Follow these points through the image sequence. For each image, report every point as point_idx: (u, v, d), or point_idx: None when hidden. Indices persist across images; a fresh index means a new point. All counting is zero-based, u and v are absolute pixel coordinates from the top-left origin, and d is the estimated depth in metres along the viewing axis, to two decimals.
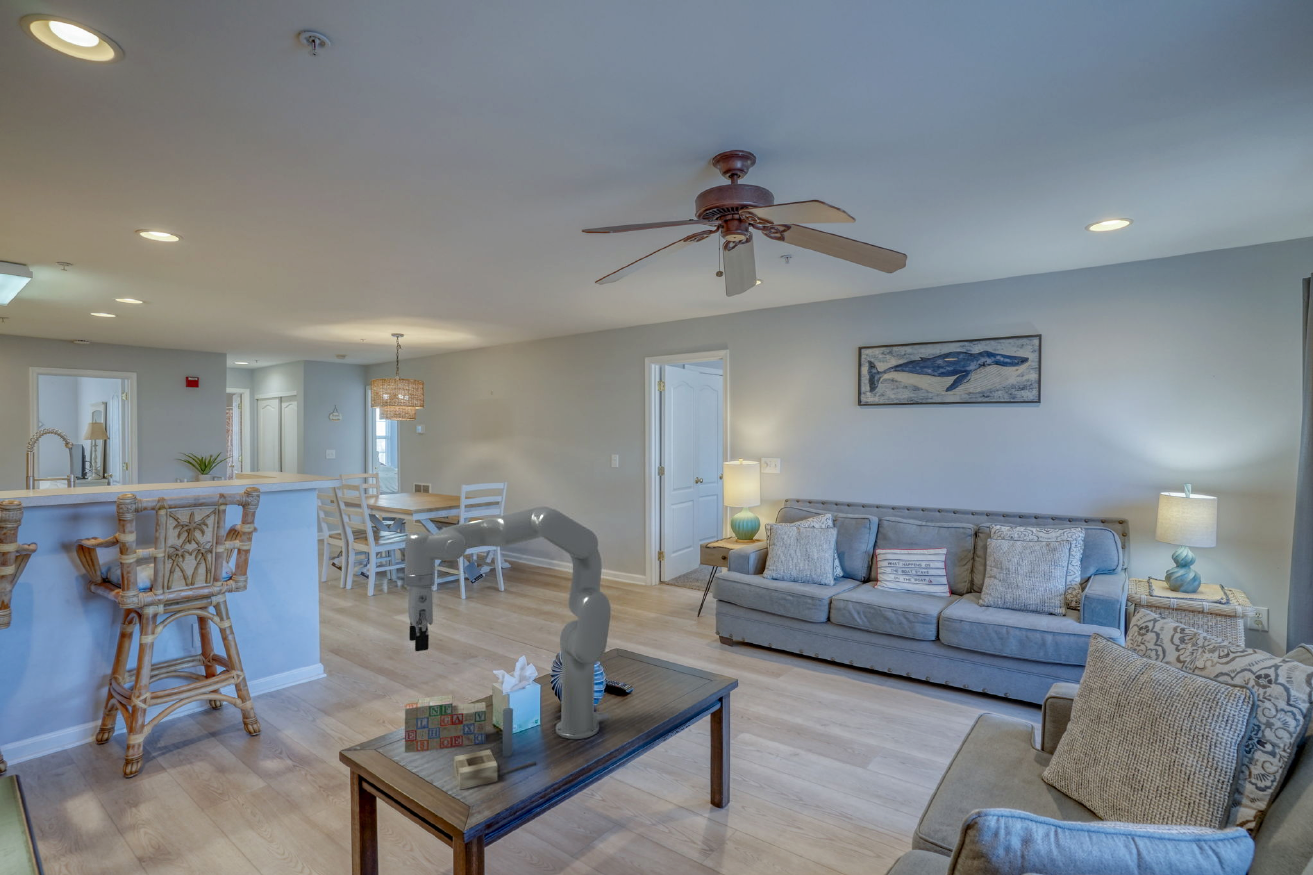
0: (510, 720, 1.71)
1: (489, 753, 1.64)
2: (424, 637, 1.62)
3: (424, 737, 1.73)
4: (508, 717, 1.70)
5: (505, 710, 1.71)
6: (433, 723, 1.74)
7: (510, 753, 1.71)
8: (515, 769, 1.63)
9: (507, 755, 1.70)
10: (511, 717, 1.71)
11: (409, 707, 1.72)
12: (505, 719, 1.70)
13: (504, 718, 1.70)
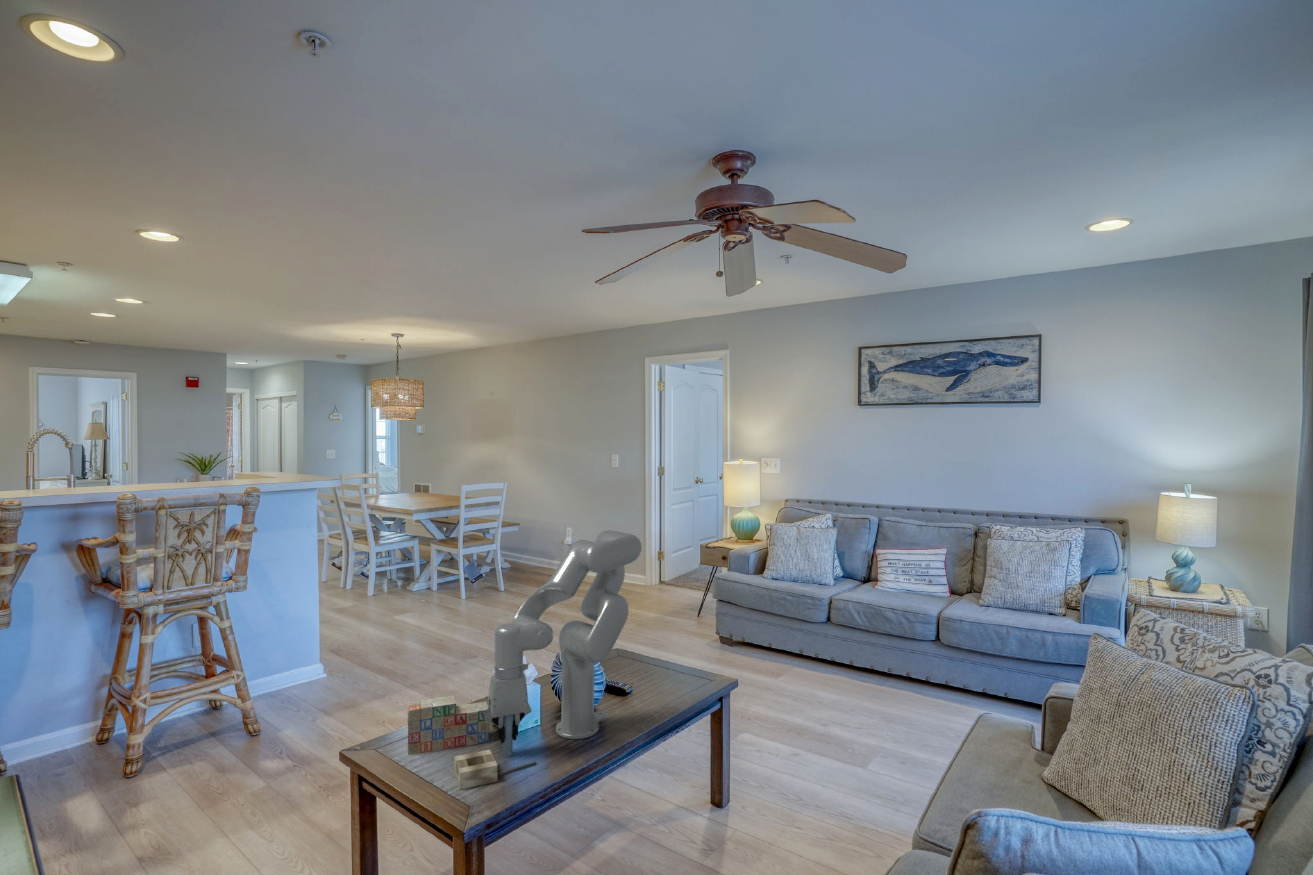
0: (510, 720, 1.71)
1: (489, 753, 1.64)
2: None
3: (428, 739, 1.72)
4: (508, 717, 1.70)
5: None
6: (436, 724, 1.73)
7: (510, 753, 1.71)
8: (515, 769, 1.63)
9: (507, 755, 1.70)
10: (511, 717, 1.71)
11: (413, 709, 1.71)
12: (505, 719, 1.70)
13: (504, 718, 1.70)
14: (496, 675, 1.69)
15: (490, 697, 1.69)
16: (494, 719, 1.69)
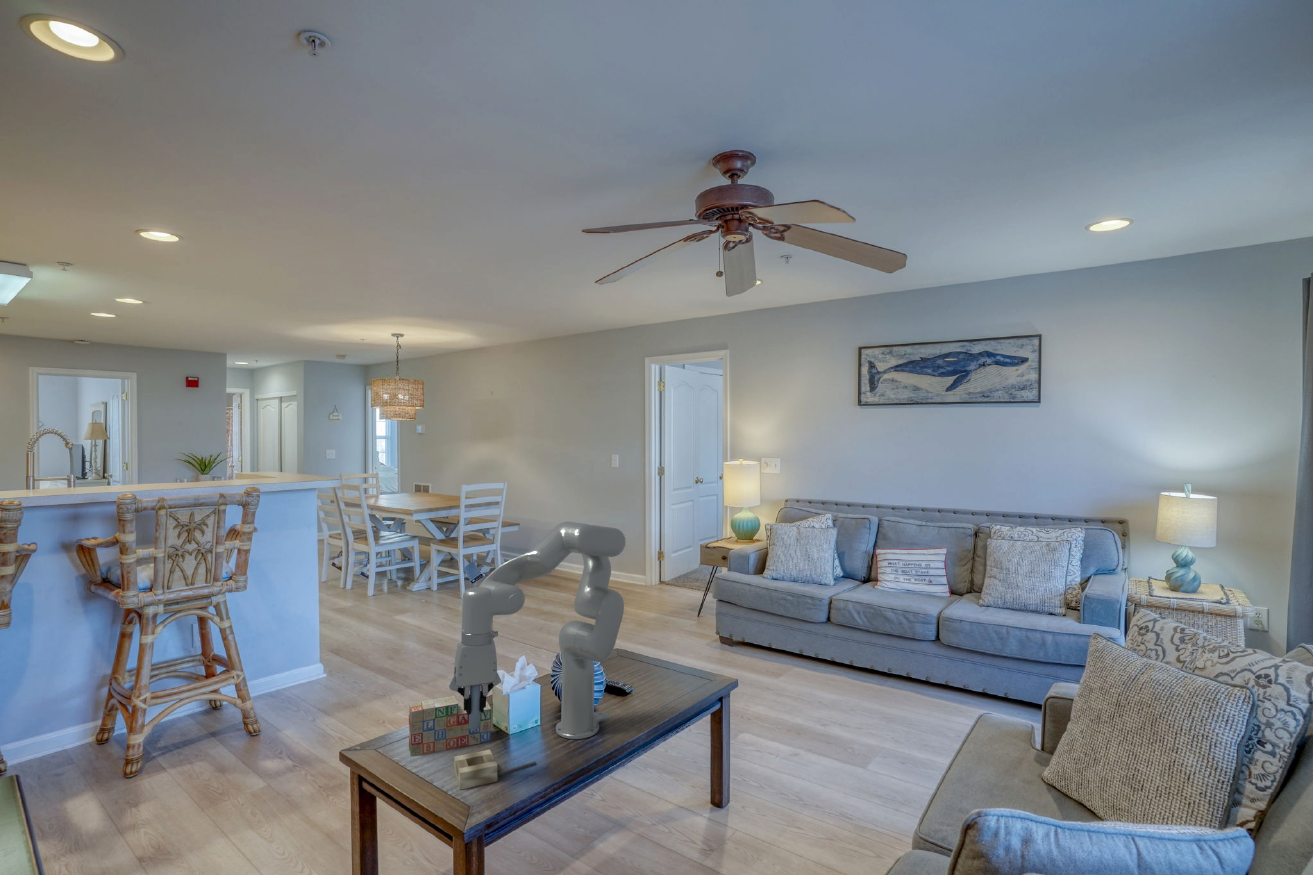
0: (477, 690, 1.59)
1: (489, 753, 1.64)
2: None
3: (431, 739, 1.72)
4: (475, 687, 1.59)
5: None
6: (439, 725, 1.73)
7: (477, 726, 1.59)
8: (515, 769, 1.63)
9: (473, 728, 1.58)
10: (479, 687, 1.59)
11: (415, 710, 1.71)
12: (472, 689, 1.58)
13: (471, 688, 1.59)
14: (463, 641, 1.57)
15: (456, 665, 1.57)
16: (460, 689, 1.57)
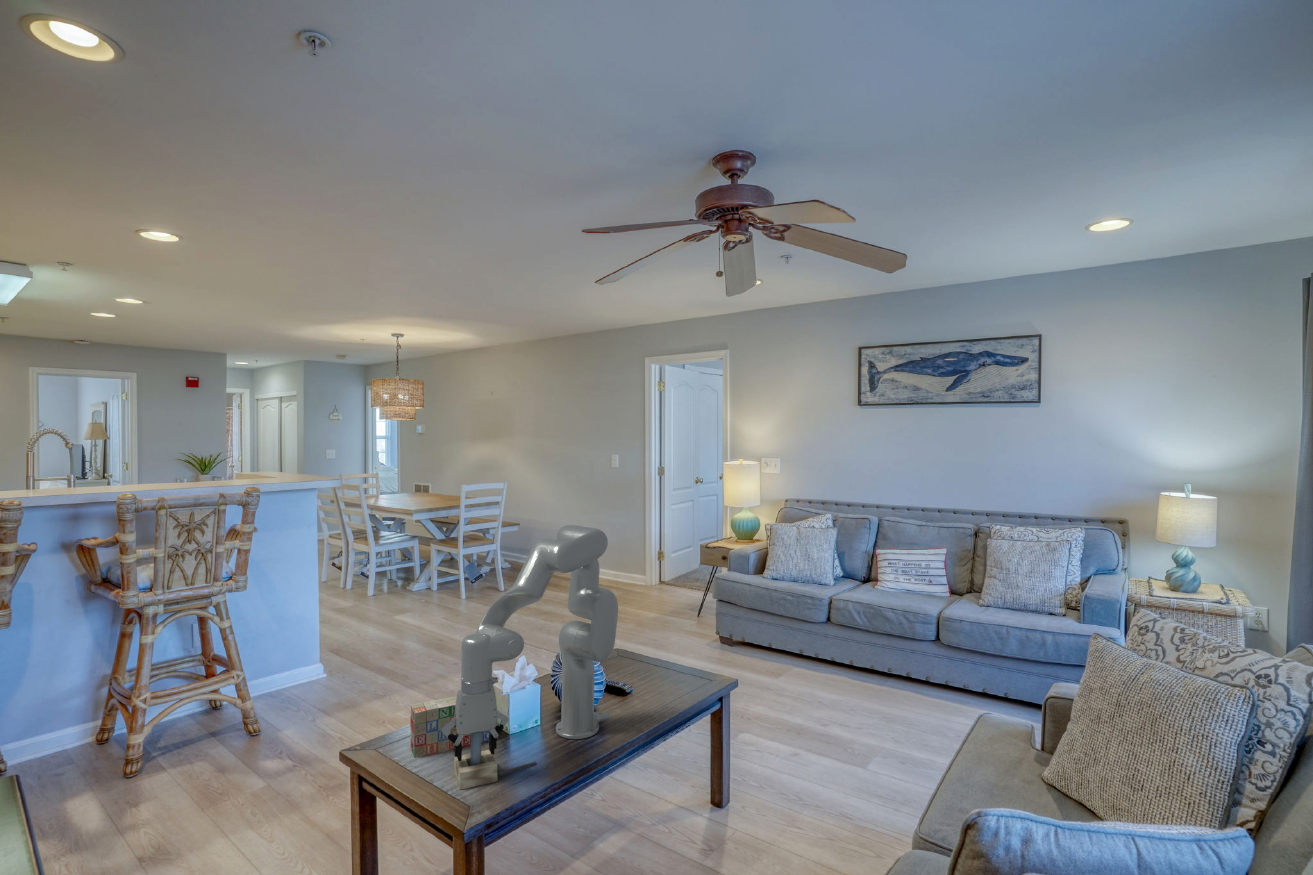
0: (478, 740, 1.59)
1: (489, 753, 1.64)
2: None
3: (434, 740, 1.71)
4: (476, 737, 1.59)
5: None
6: (442, 725, 1.73)
7: None
8: (515, 769, 1.63)
9: None
10: (479, 737, 1.59)
11: (419, 711, 1.70)
12: (473, 739, 1.59)
13: (472, 738, 1.59)
14: (462, 689, 1.57)
15: (456, 713, 1.57)
16: (450, 736, 1.56)
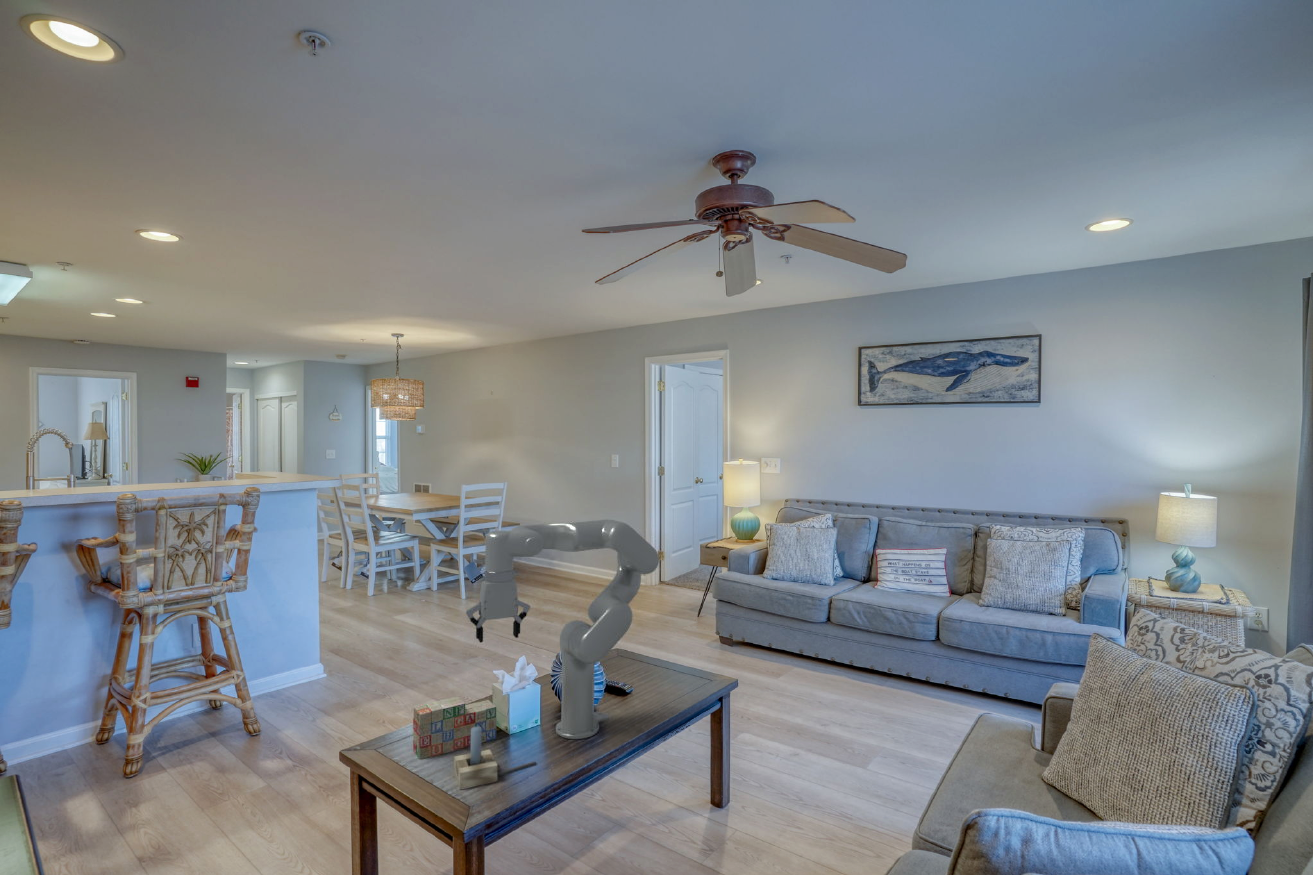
0: (478, 740, 1.59)
1: (489, 753, 1.64)
2: None
3: (439, 741, 1.71)
4: (476, 737, 1.59)
5: (473, 729, 1.60)
6: (447, 726, 1.72)
7: None
8: (515, 769, 1.63)
9: None
10: (479, 737, 1.59)
11: (424, 713, 1.69)
12: (473, 739, 1.59)
13: (472, 738, 1.59)
14: (487, 579, 1.72)
15: (481, 600, 1.72)
16: (472, 618, 1.71)
